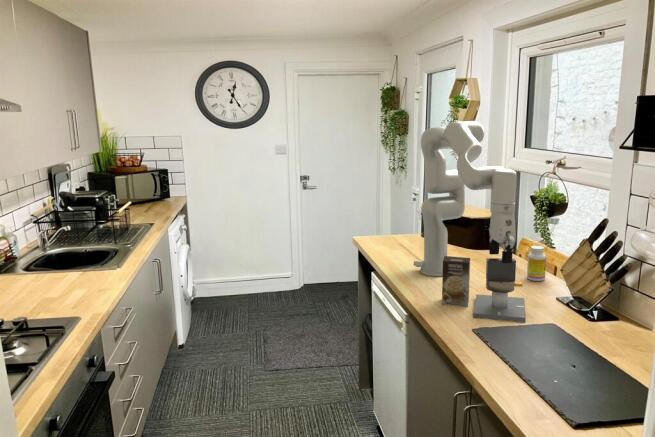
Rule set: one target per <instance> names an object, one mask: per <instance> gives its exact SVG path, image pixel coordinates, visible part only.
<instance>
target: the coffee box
mask: <svg viewBox="0 0 655 437" xmlns="http://www.w3.org/2000/svg"><path fill="white" fill-rule="evenodd" d="M470 272H471V257H463V256H462V257H461V256H450V255H447V256H445V257H444V259H443V276H442V282H441V284H442V285H441V287H442V288H441V289H442V290H441V292H442V293H441V305H443V306H444V305H445V306H454V307H455V306H456V307H464V308H468V307H469V301H470V281H471V280H470V278H471V275H470Z"/></svg>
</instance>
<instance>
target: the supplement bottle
mask: <svg viewBox="0 0 655 437" xmlns="http://www.w3.org/2000/svg"><path fill="white" fill-rule="evenodd" d="M544 249H545V248H544V246H541V245H531V247H530V252H529V253H528V255H527V266H526V269H527V270H526V272H527V273H526V278H527V279H528V280H530V281H534V282H542V281H544V280H545V279H546V267H547V266H546V264H547V255H546V254H545V253H544V252H545V250H544Z"/></svg>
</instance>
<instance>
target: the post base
mask: <svg viewBox="0 0 655 437" xmlns="http://www.w3.org/2000/svg"><path fill="white" fill-rule="evenodd" d="M525 301H526V300H525V297H514V296H509V293H497V292H492V291H491V295H489V294H476V295H475V302H474V307H473V310H472V311H473V312H472V318H474V319H484V320H496V321H506V322H507V321H508V322H518V323H526V315H527V314H526V304H525Z"/></svg>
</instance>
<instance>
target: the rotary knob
mask: <svg viewBox="0 0 655 437" xmlns="http://www.w3.org/2000/svg"><path fill="white" fill-rule="evenodd" d="M485 263H486V264H485V265H486V266H485V288H486V289H487V291H490V292H491V293H492V292H497V293H508V294H509V293H512V292H514V291H515V287H521V288H522V287H523V286H524V285H523V282H518V281H517V282H516V271H517V269H516V268H517V260H516V259H515V258H513V257H512V263H502V257H501V258H500V257H498V258H497V257H495V258H493V257H492V258H491V257H490V258H487V257H486V262H485Z"/></svg>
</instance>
